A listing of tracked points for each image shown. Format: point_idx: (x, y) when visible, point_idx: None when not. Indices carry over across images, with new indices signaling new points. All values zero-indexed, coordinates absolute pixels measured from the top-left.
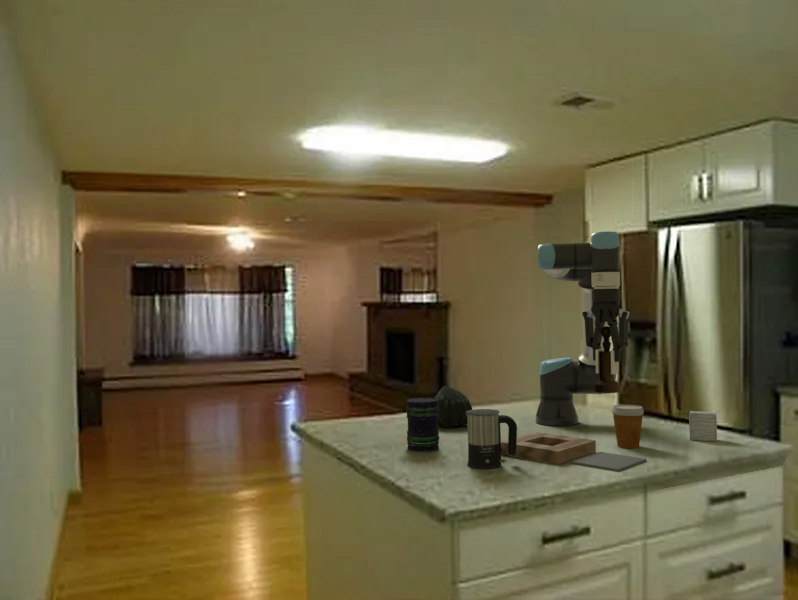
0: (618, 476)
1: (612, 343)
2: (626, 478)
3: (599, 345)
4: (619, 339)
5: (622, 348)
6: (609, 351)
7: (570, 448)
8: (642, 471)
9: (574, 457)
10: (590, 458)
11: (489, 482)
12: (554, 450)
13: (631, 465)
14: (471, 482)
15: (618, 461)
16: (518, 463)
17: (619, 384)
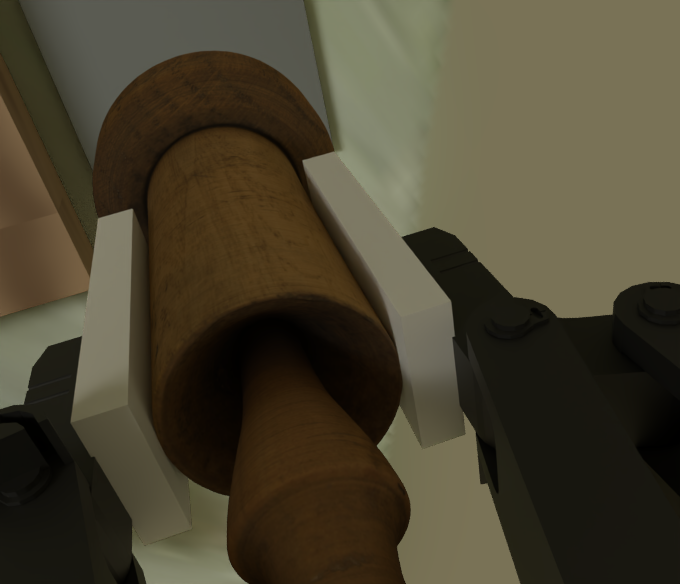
0: (378, 200)
1: (502, 524)
2: (413, 197)
3: (87, 511)
4: (624, 455)
5: (579, 327)
6: (241, 312)
7: (48, 190)
8: (389, 60)
9: (39, 139)
10: (108, 97)
11: (199, 536)
12: (69, 291)
13: (307, 27)
14: (172, 568)
15: (232, 31)
16: (4, 376)
17: (322, 122)
